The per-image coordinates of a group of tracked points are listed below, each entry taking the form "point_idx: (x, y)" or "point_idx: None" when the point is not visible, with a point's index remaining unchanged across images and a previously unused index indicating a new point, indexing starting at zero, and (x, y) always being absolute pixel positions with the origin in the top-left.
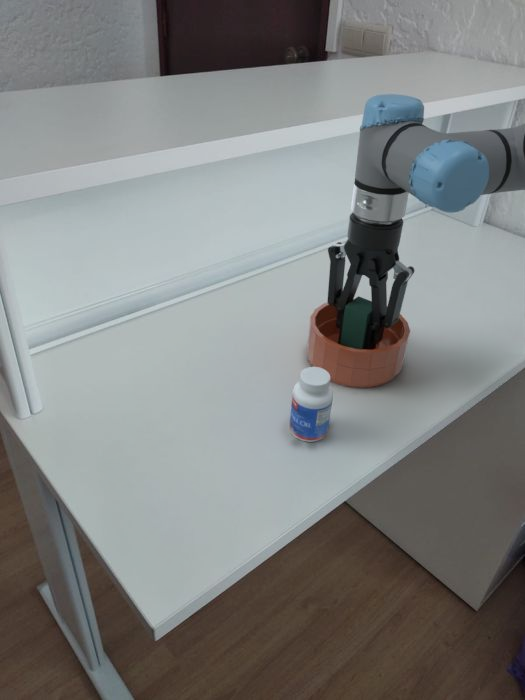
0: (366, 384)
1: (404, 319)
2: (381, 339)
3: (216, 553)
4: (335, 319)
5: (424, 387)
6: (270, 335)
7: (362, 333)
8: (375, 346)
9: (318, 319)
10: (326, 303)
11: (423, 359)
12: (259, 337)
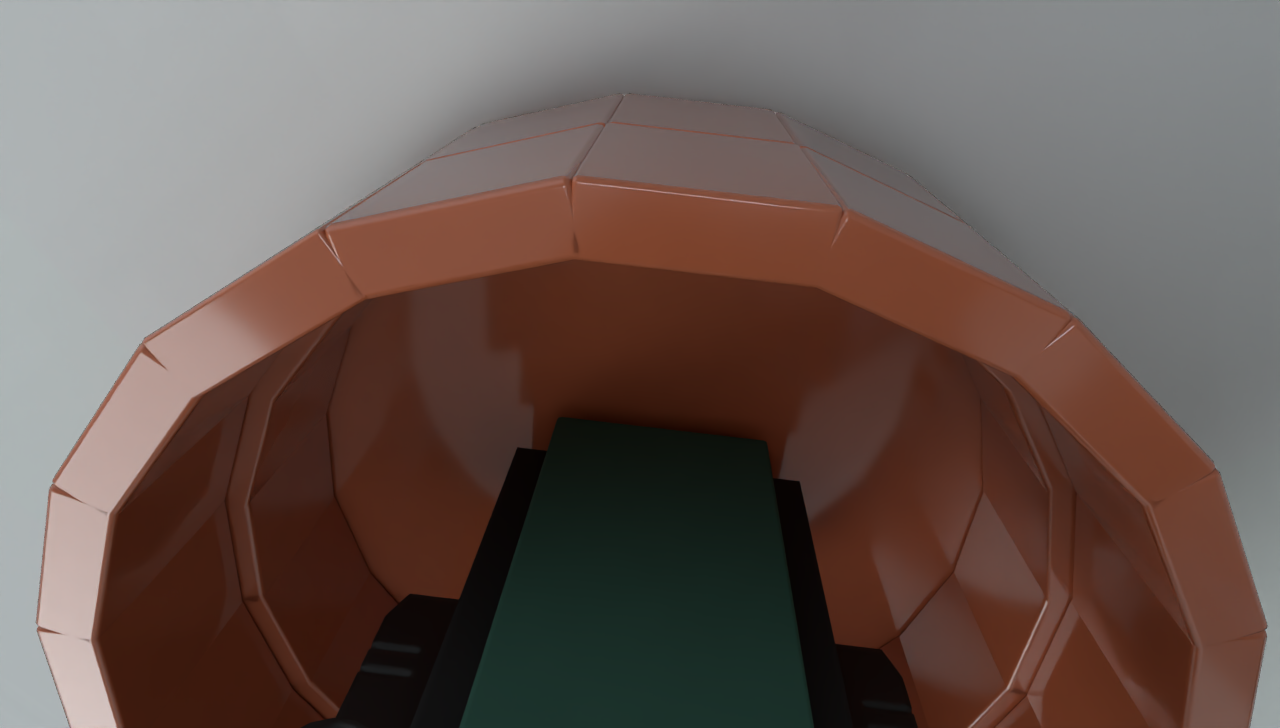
0: None
1: (1160, 429)
2: (895, 678)
3: None
4: (274, 408)
5: (1230, 497)
6: (27, 521)
7: None
8: (810, 536)
9: (198, 654)
10: (55, 608)
11: (1206, 152)
12: (4, 572)
